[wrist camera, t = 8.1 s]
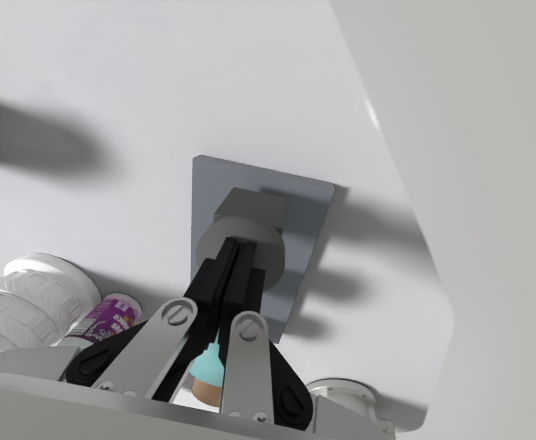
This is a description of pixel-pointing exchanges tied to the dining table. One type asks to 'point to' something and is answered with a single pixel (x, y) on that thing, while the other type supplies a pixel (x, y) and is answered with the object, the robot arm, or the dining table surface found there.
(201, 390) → the walnut key
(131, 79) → the dining table surface
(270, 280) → the dark grey round-topped block
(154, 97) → the dining table surface
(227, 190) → the panel
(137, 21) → the dining table surface
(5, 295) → the decorative container
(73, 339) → the pill bottle
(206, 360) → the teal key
